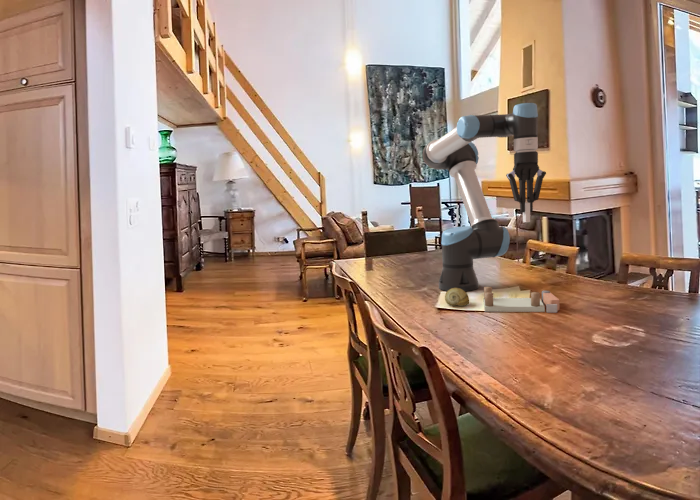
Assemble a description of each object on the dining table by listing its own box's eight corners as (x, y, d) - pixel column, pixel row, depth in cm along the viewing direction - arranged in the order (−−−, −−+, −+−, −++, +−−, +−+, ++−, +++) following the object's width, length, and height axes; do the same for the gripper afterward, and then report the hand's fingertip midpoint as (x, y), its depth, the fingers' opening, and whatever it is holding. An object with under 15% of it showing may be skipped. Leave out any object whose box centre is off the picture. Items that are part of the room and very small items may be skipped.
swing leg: (540, 301, 162) (540, 290, 161) (548, 300, 162) (548, 290, 161) (551, 310, 151) (551, 299, 150) (559, 310, 150) (559, 299, 150)
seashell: (457, 312, 170) (442, 295, 172) (473, 300, 169) (458, 282, 170) (456, 315, 161) (440, 296, 162) (472, 302, 159) (456, 283, 161)
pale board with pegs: (484, 312, 154) (484, 295, 153) (483, 302, 165) (483, 286, 165) (557, 312, 149) (557, 294, 148) (550, 302, 160) (550, 286, 159)
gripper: (510, 152, 158) (511, 224, 161) (550, 149, 158) (550, 221, 161) (502, 153, 165) (503, 222, 168) (540, 150, 165) (540, 219, 169)
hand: (526, 221), depth 165 cm, fingers closed
